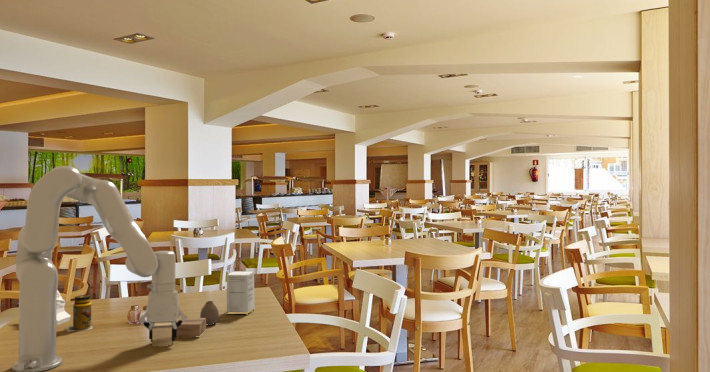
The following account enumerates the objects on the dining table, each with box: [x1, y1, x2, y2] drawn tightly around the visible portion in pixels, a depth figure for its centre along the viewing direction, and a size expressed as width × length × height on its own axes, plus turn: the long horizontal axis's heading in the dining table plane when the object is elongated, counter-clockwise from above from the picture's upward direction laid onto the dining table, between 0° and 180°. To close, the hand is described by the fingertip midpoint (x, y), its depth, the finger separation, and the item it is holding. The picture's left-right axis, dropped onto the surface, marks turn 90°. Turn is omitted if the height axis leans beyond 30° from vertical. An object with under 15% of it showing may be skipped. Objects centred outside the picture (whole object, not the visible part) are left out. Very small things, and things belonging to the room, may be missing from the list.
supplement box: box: [226, 270, 255, 313], centre depth 221 cm, size 10×9×17 cm
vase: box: [199, 300, 220, 324], centre depth 202 cm, size 7×7×9 cm
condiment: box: [65, 294, 94, 333], centre depth 195 cm, size 7×8×12 cm
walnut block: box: [177, 317, 207, 337], centre depth 188 cm, size 9×9×5 cm
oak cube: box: [151, 322, 174, 347], centre depth 177 cm, size 6×6×6 cm
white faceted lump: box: [56, 289, 72, 326], centre depth 204 cm, size 12×15×14 cm
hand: (163, 340), depth 177 cm, fingers closed on oak cube, 6 cm apart
